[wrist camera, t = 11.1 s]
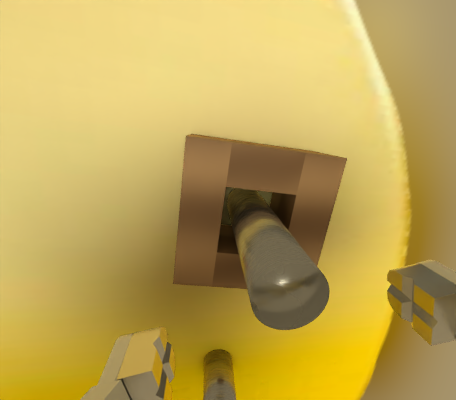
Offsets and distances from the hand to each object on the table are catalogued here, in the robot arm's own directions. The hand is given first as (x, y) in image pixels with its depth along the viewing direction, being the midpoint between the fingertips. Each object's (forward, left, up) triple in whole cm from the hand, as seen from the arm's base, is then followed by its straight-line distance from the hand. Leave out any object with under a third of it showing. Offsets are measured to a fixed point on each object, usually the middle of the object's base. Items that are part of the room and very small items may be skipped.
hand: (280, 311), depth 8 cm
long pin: (0, -1, -13) cm, 13 cm away
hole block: (0, -1, -13) cm, 13 cm away
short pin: (-18, -1, -13) cm, 22 cm away
